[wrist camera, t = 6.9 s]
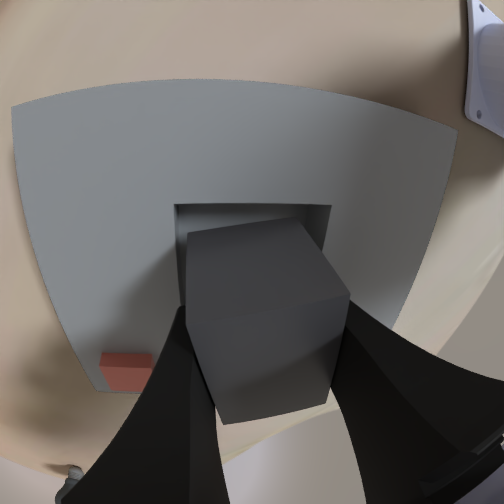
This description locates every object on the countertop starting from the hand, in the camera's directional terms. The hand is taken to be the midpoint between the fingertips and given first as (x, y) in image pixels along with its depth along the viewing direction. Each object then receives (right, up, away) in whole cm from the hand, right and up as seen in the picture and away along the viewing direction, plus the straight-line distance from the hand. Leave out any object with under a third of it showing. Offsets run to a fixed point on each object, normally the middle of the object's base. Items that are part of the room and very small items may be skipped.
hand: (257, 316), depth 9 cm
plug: (0, +1, +2) cm, 3 cm away
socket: (-1, +2, +3) cm, 4 cm away
